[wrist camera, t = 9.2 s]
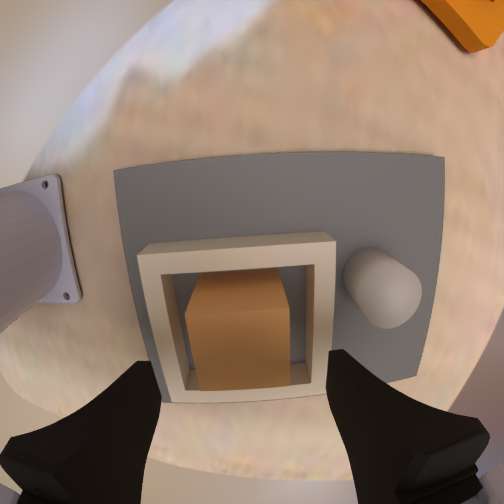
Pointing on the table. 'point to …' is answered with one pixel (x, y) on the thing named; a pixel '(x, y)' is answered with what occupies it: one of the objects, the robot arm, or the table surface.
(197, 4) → the table surface
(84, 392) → the table surface
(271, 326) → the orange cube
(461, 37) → the bracket
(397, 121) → the table surface
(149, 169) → the board
